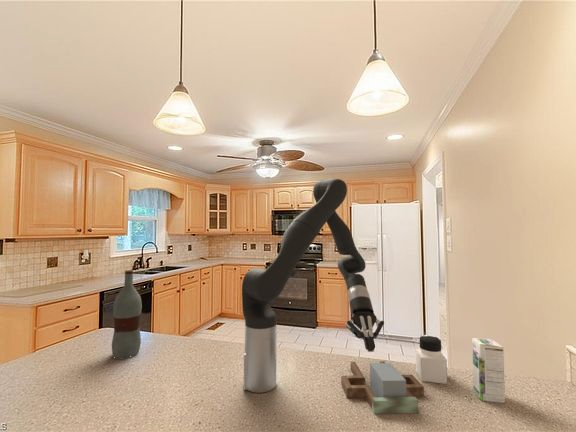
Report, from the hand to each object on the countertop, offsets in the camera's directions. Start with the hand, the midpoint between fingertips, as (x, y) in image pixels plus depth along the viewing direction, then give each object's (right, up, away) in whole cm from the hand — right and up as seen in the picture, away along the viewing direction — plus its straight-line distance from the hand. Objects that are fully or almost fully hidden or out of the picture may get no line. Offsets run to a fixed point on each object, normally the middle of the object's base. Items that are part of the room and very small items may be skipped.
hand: (371, 350), depth 91 cm
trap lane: (0, -7, -8) cm, 11 cm away
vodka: (-85, -9, +15) cm, 86 cm away
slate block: (+1, -7, -12) cm, 14 cm away
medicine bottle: (+18, -8, -1) cm, 20 cm away
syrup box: (+28, -7, -12) cm, 32 cm away
